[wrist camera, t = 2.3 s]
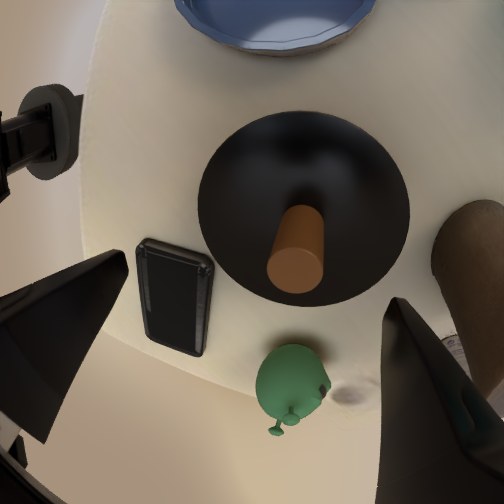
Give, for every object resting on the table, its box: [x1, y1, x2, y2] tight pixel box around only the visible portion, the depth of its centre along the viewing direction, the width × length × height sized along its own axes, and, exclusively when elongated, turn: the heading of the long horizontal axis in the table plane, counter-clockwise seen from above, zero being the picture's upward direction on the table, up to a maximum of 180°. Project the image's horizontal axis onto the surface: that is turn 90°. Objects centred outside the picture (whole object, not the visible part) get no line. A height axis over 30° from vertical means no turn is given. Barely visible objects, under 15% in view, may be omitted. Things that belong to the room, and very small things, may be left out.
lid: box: [198, 111, 410, 307], centre depth 14 cm, size 12×12×6 cm
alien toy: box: [256, 344, 331, 436], centre depth 25 cm, size 7×8×10 cm
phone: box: [135, 238, 214, 357], centre depth 29 cm, size 8×1×15 cm
